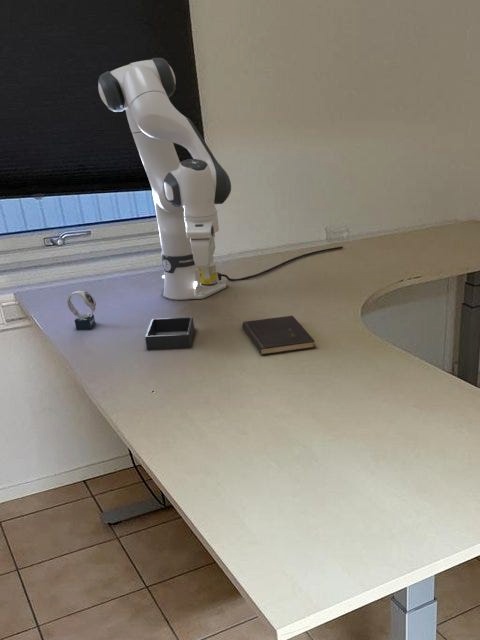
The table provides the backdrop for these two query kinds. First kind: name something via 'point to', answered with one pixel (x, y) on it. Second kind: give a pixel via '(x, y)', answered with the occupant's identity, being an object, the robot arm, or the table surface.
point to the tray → (170, 340)
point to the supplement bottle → (213, 276)
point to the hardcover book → (278, 335)
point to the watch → (83, 319)
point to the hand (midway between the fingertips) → (208, 275)
